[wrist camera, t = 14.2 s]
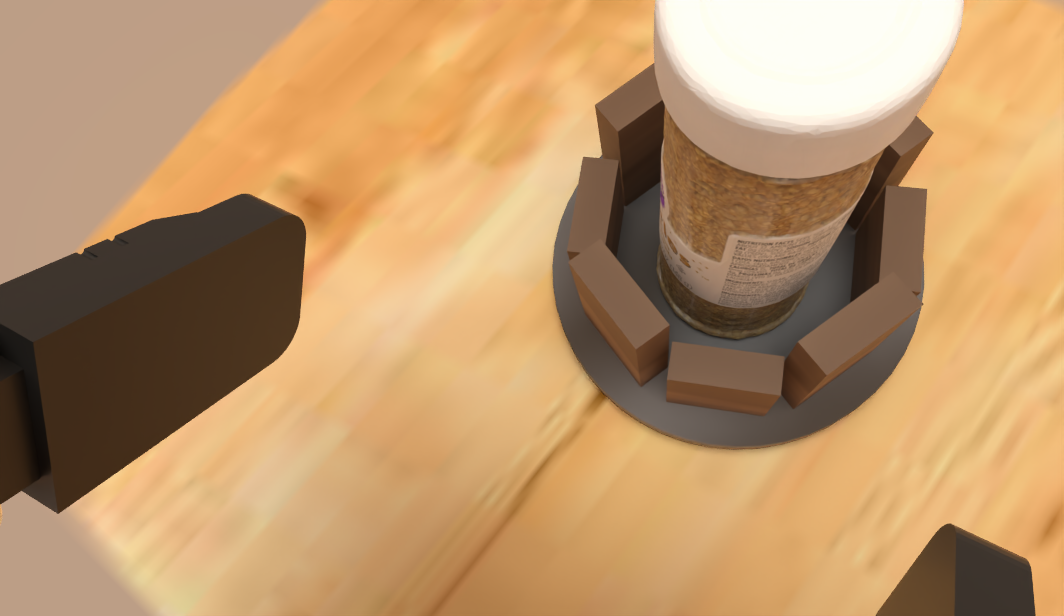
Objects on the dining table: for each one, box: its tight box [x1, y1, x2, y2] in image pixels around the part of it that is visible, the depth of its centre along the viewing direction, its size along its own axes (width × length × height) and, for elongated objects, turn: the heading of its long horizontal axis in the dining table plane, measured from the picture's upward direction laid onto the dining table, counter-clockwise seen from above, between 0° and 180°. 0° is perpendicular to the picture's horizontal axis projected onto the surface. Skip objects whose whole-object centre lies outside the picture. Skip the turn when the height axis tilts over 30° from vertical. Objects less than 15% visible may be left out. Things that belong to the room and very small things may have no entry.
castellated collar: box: [553, 64, 933, 449], centre depth 23 cm, size 11×11×6 cm
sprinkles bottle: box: [654, 0, 964, 339], centre depth 19 cm, size 5×5×13 cm
